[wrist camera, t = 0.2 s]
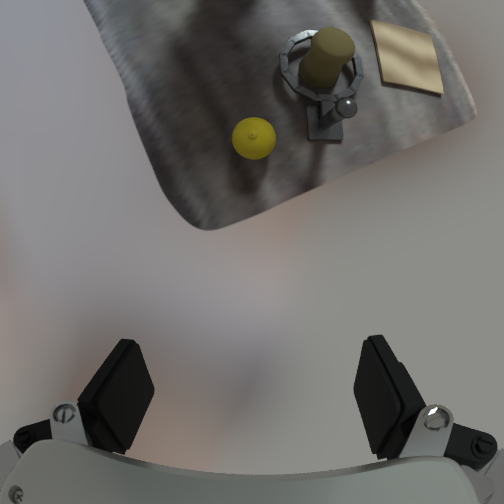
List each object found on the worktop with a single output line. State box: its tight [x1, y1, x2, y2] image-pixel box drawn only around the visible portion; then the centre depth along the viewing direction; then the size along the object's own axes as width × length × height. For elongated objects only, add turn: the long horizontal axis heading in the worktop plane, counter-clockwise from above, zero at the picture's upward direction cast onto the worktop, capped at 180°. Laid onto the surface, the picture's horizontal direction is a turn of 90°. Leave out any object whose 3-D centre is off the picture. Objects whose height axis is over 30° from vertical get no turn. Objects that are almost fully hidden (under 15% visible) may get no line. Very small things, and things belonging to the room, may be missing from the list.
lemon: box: [232, 117, 276, 160], centre depth 32 cm, size 6×6×8 cm
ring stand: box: [279, 30, 364, 140], centre depth 27 cm, size 17×12×12 cm
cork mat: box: [370, 20, 444, 95], centre depth 29 cm, size 12×12×1 cm
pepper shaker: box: [299, 27, 355, 88], centre depth 27 cm, size 6×6×11 cm
